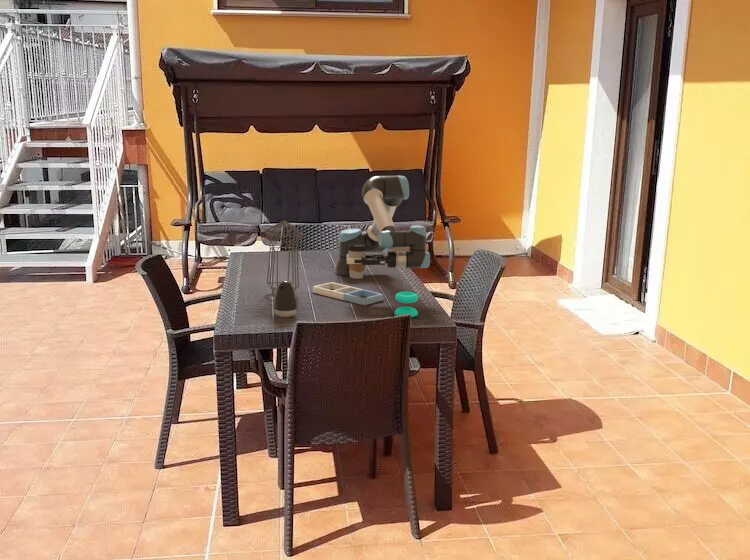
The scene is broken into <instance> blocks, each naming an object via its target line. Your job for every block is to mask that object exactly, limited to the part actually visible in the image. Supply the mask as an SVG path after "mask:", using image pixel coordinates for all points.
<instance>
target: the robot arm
mask: <svg viewBox="0 0 750 560" xmlns="http://www.w3.org/2000/svg"><path fill="white" fill-rule="evenodd" d="M361 196H362V199H363V202H364V203H365V204H366V205H367V206H368V208H369V210H370V212H371V215H372V217H373V222H372V224H371V225H369V226H368V228H367V229H366V231H362V229H360V228H348V229H344V230H342V231H340V233H339V236H338V260H337V264H336V265H335V266H336V267H335V270H334V272H335V274H336V275H338V274H339V276H345V277H346V276H347V277H350V271H349V264H361V263H362V264H363V265H365V266H385V265H386V264H387V265H386V266H387V268H389V269H390V268H393V269H394V268H399V269H401V270H403V269H405V268H406V269H408V268H409V269H427V268H430V264H431V254H430V251H427V250H426V246H427V245H426V243H427V229H426V226H424V225H416V224H415V225H411V226H410V227H409V229H407V230H406V229H405V230H397V228H396V225H395V223H394V221H393V217H394V214H395V211H396V209H397V207H399V206H400V205H401V204H402V202H403V200H408V199H409V196H410V185H409V181H408V179H407V177H406V176H404V175H398V174H397V175H375V176H372V177H370V178H368V179H367V180H366V181H365V183H364V185H363V186H362V190H361ZM350 244H364V245H365V247H366V254H365V258H364V257H362V260H361V258H349V250H348V247H349V245H350ZM391 248H392V249H393V248H395V249H396V248H408V251H404V250H403V251H401V250H399V251H393V250H392V251H391V250H390V251H389V249H391ZM385 252H387V255H384V253H385Z"/></svg>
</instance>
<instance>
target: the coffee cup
mask: <svg viewBox="0 0 750 560" xmlns="http://www.w3.org/2000/svg"><path fill="white" fill-rule="evenodd" d="M348 250H349V258H361V260H362V257H364V258H365V254H367V253H366V247H365V245H364V244H350V245H349V247H348ZM365 266H366V265H363V264H362V263H361V264H349V271H350V276H349V277H350V278H351V279H363V277H364V275H365V273H364V272H365Z"/></svg>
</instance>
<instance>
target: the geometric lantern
mask: <svg viewBox="0 0 750 560" xmlns="http://www.w3.org/2000/svg"><path fill="white" fill-rule="evenodd" d="M288 228H289V229H288ZM281 229H282V231H281ZM285 229H286V230H285ZM263 232H264V233H265V235H266V237H267V240H268V243H269V245H271V246H269V251H268V252H269V254H268V266H267V277H266V285H267V286H268V287H269V288H270V289H271V295H272V296H274V297H275V293H276V290H277V288H278V286H279V284H280V283H281V282H282V281H279V253H288V262H287V263H288V265H287V280H286V281H288V282H290V283H291V285H292V286H293V285H294V286H293V288H294V291H296V290H297V289H298V288H299V287H300V281H299V280H300V279H299V278H300V277H299V253H298V252H299V250H298V248H297V247H298V244H297V243H298V242H300V241H301V239H302V238H303V237H304V236H305V234H304V233H303V232H301V231H300V230H299V229H298V228H296V227H295V226H294V225H292V224H291V222H290V223H289V222H288V221H286V220H282V221H280V222H278V223H276V224H275V225H273V226H271V227H269V228H267V229H265V230H264V231H263ZM292 232H294V234H295V235H294V234H293V235H291V233H292ZM279 233H280V234H279ZM281 233H282V234H281ZM286 233H287V234H286ZM273 237H276V238H275V240H274V243H273V241H272V239H273ZM285 238H289V240H286V239H285ZM291 238H293V239H291ZM278 239H279V240H281V242H282V243H281V244H280V245H279V247H278V246H277V247H275V244H276V242H277V240H278ZM293 241H294V243H293ZM289 243H290V245H291V246H290V245H289ZM283 244H286V245H287V246H282V245H283ZM295 245H296V247H295ZM284 248H285V249H288V250H282V251H281V250H279V249H284ZM275 259H276V261H275ZM290 260H291V261H290ZM275 262H276V281H274V274H275V273H274V272H275ZM290 263H292V265H291V271H292V273H291V275H292V281H289V278H290ZM274 284H276V287H274Z"/></svg>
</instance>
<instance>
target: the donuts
mask: <svg viewBox="0 0 750 560" xmlns="http://www.w3.org/2000/svg"><path fill="white" fill-rule="evenodd" d="M419 297H420V296H419V294H417V293H416V292H413V291H399V292H396V293H395V295H394V298H395V300H396V301H397V302H399V303H402V304H414V303H416V302H417V301H418V300H419ZM394 314H395V315H394V316H396V317H397V316H398V315H406V314H410V315H411V316H412V317H415V316H416V317H417V316H418V314H419V312H418V310H417V309H416V308H415V307H411V306H401V307H396V309H395V310H394ZM416 317H415V318H416Z"/></svg>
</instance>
